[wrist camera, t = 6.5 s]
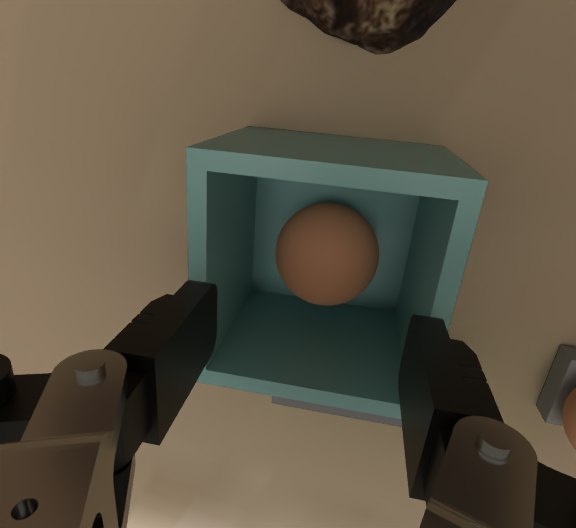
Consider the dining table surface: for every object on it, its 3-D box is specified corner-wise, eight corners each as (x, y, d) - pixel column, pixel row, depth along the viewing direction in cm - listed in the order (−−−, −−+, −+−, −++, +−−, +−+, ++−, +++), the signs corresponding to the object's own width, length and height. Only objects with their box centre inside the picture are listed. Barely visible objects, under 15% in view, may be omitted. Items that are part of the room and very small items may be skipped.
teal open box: (443, 146, 17) (488, 180, 11) (405, 319, 21) (423, 423, 14) (248, 126, 18) (186, 147, 12) (242, 294, 22) (189, 380, 15)
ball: (385, 197, 17) (390, 227, 14) (370, 285, 19) (370, 333, 15) (289, 186, 18) (268, 211, 14) (281, 272, 19) (262, 315, 16)
